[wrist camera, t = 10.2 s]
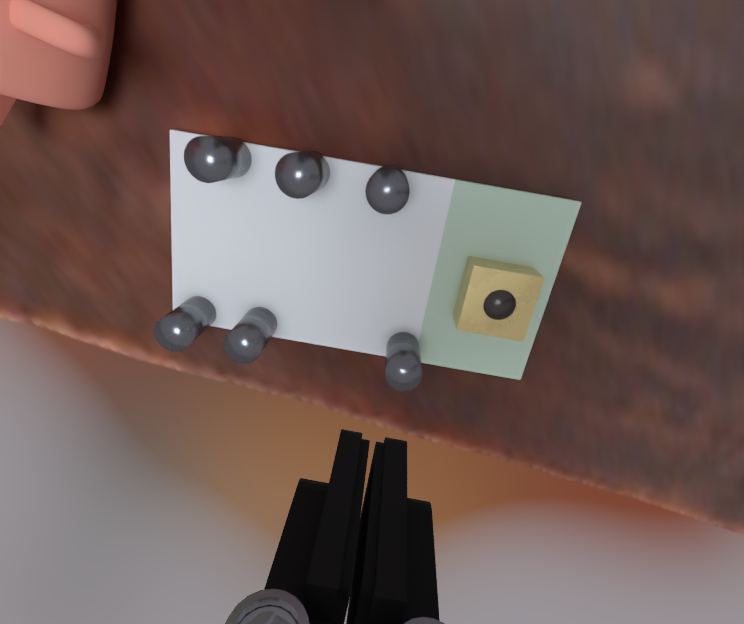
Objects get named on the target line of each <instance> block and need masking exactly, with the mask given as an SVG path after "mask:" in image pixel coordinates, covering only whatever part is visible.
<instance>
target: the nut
mask: <svg viewBox="0 0 744 624" xmlns="http://www.w3.org/2000/svg"><path fill="white" fill-rule="evenodd" d="M544 279H545V278H544V277H543V276H542V275H541V274H540V273H539V272H538V271H537V270H536V269H535V268H534V267H529V266H523V265H517V264H512V263H506V262H501V261H495V260H490V259H484V258H478V257H473V256H468V258H467V262H466V266H465V270H464V274H463V277H462V281H461V285H460V289H459V293H458V297H457V301H456V304H455V308H454V312H453V319H454V323H455V326H456V329H457V330H460V331H465V332H471V333H476V334H482V335H488V336H493V337H499V338H504V339H510V340H516V341H521V342H523V341H524V338H525V336H526V333H527V330H528V327H529V324H530V321H531V318H532V315H533V312H534V309H535V306H536V303H537V300H538V297H539V294H540V291H541V288H542V285H543V282H544Z"/></svg>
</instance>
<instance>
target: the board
mask: <svg viewBox="0 0 744 624" xmlns="http://www.w3.org/2000/svg"><path fill="white" fill-rule="evenodd" d="M198 136H209V135H203V134H197V133H192V132H186V131H180V130H170V174H171V231H172V287H173V310H174V309H175V308H177V307H178V306H179V305H181V304H182V303H184V302H185V301H186V300H188V299H189V298H191V297H194V296H201V297H204V298H206V299H208V300H209V301H210V302H211V303H212V304H213V305H214V307H215V310H216V319H215V321H214V322H213V323H212V324H211V325H210V326H214V327H219V328H225V329H231V330H232V329H233V328H234V327H235V325H236V324H237V323H238V322H239V321H240V320H241V319H242V318H243V317H244V315H245V314H246V313H247V312H248V311H249V310H250V309H252V308H255V307H263V308H266V309H268V310H270V311H271V312H272V313H273V314H274V315H275V317H276V319H277V329H276V331H275V332H274V334H273V335H272V337H277V338H283V339H288V340H294V341H300V342H305V343H311V344H317V345H323V346H328V347H334V348H340V349H346V350H351V351H357V352H363V353H369V354H374V355H380V356H386V348H387V342H388V340H389V339H390V337H391V336H393V335H394V334H396V333H399V332H407V333H410V334H412V335H414V336H415V337H416V338H417V340H418V342H419V345H420V355H421V363H426V364H432V365H437V366H443V367H449V368H455V369H460V370H466V371H472V372H478V373H483V374H489V375H495V376H501V377H506V378H512V379H518V380H521V377H522V374H523V371H524V368H525V365H526V363H527V360H528V357H529V354H530V351H531V348H532V345H533V342H534V339H535V336H536V333H537V331H538V328H539V325H540V322H541V319H542V316H543V313H544V310H545V307H546V304H547V302H548V299H549V296H550V293H551V290H552V287H553V284H554V281H555V278H556V275H557V272H558V270H559V267H560V264H561V261H562V258H563V255H564V252H565V249H566V246H567V243H568V241H569V238H570V235H571V232H572V229H573V226H574V223H575V220H576V217H577V214H578V211H579V209H580V206H581V203H582V202H580V201H577V200H572V199H566V198H561V197H555V196H549V195H544V194H538V193H532V192H527V191H521V190H515V189H509V188H504V187H498V186H492V185H487V184H481V183H475V182H470V181H464V180H458V179H453V178H447V177H441V176H436V175H430V174H424V173H419V172H413V171H407V170H402V169H401V170H402V171H403V172H404V173H405V175H406V176H407V179H408V184H409V189H410V194H409V199H408V201H407V203H406V205H405V206H404V207H403V208H402V209H401V210H400V211H398V212H396V213H393V214H381V213H379V212H377V211H375V210H374V209H373V208H372V207H371V206H370V205H369V203H368V201H367V199H366V193H365V190H366V185H367V182H368V180H369V178H370V177H371V176H372V175H373V174H374V172H375V171H376V170H377V169H379V168H380V167H382V166H379V165H373V164H368V163H362V162H356V161H351V160H345V159H339V158H334V157H328V156H323V157H324V158H325V159H326V161H327V162H328V165H329V168H330V176H329V180H328V182H327V183H326V185H325V186H324V187H323V188H321V189H320V190H318V191H316V192H314V193H313V194H311V195H309V196H307V197H305V198H301V199H295V198H291V197H289V196H287V195H285V194H284V193H283V192H282V191H281V190H280V189H279V187H278V185H277V183H276V180H275V168H276V165H277V163H278V161H279V160H280V159H281V158H282V157H283V156H284V155H286V154H288V153H292V152H300V151H294V150H288V149H283V148H277V147H271V146H266V145H260V144H254V143H249V142H244V143H245V144H246V145H247V147H248V149H249V150H250V153H251V159H252V161H251V166H250V169H249V170H248V172H247V173H246V174H245V175H243V176H241V177H237V178H232V179H228V180H223V181H218V182H213V183H204V182H201V181H199V180H197V179H196V178H194V177H193V176H192V175H191V174H190V173H189V171H188V169H187V168H186V165H185V162H184V150H185V147H186V145H187V144H188V142H189V141H190V140H191V139H193V138H195V137H198ZM468 256H473V257H478V258H484V259H490V260H495V261H501V262H506V263H512V264H517V265H523V266H529V267H534V268H535V269H536V270H537V271H538V272H539V273H540V274H541V275H542V276H543V277H544V278H545V279H544V282H543V285H542V288H541V291H540V294H539V297H538V300H537V303H536V306H535V309H534V312H533V315H532V318H531V321H530V324H529V327H528V330H527V333H526V336H525V338H524V341H523V342H521V341H516V340H510V339H504V338H499V337H493V336H488V335H482V334H476V333H471V332H465V331H460V330H457V329H456V326H455V323H454V319H453V312H454V308H455V304H456V301H457V297H458V293H459V289H460V285H461V281H462V277H463V274H464V270H465V266H466V262H467V258H468Z"/></svg>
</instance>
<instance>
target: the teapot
mask: <svg viewBox="0 0 744 624" xmlns="http://www.w3.org/2000/svg"><path fill="white" fill-rule="evenodd" d="M116 8H117V0H0V128H1V126H2V124H3V122H4V120H5V119H6V117H7V115H8V113H9V111H10V110H11V108H12V106H13V104H14V103H15V101H16V99H20V100H24V101H28V102H32V103H36V104H41V105H46V106H51V107H56V108H61V109H69V110H83V109H86V108H89V107H91V106H93V105H95V104H96V103H97V102H99V101H100V100H101V97H102V95H103V92H104V88H105V84H106V79H107V74H108V68H109V63H110V57H111V51H112V44H113V36H114V28H115V18H116Z"/></svg>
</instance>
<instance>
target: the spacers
mask: <svg viewBox="0 0 744 624" xmlns="http://www.w3.org/2000/svg"><path fill="white" fill-rule="evenodd" d="M251 161H252V159H251V153H250V150H249V149H248V147H247V145H246V144H245V143H244V142H243V141H241V140H240V139H237V138H234V137H217V136H198V137H195V138H193V139H191V140H190V141H189V142H188V144H187V145H186V147H185V150H184V162H185V165H186V168H187V169H188V171H189V173H190V174H191V175H192V176H193V177H194V178H196V179H197V180H199V181H201V182H204V183H213V182H218V181H223V180H228V179H232V178H237V177H241V176H243V175H245V174H246V173H247V172H248V170H249V169H250V166H251ZM329 176H330V168H329V165H328V162H327V161H326V159H325V158H324V157H323V156H322V155H321V154H319V153H317V152H314V151H304V152H292V153H288V154H286V155H284V156H283V157H282V158H281V159H280V160H279V161H278V163H277V165H276V168H275V180H276V183H277V185H278V187H279V189H280V190H281V191H282V192H283V193H284V194H285V195H287V196H289V197H291V198H295V199H301V198H305V197H307V196H309V195H311V194H313V193H314V192H316V191H318V190H320V189H321V188H323V187H324V186H325V185H326V183H327V182H328V180H329ZM365 193H366V199H367V201H368V203H369V205H370V206H371V207H372V208H373V209H374V210H375V211H377V212H379V213H381V214H393V213H396V212H398V211H400V210H401V209H402V208H403V207H404V206H405V205H406V203H407V201H408V199H409V194H410V189H409V184H408V179H407V176H406V175H405V173H404V172H403V171H402V170H401V169H400V168H398V167H396V166H393V165H386V166H382V167H380V168H379V169H377V170H376V171H375V172H374V174H373V175H372V176H371V177H370V178H369V180H368V182H367V185H366V190H365ZM215 319H216V310H215V307H214V305H213V304H212V303H211V302H210V301H209V300H208V299H206V298H204V297H201V296H194V297H191V298H189V299H188V300H186V301H185V302H184V303H182V304H181V305H179V306H178V307H177V308H175V309H174V310H173V311H171V312H170V313H169V314H167V315H166V316H165V317H163V318H162V319H160V320H159V321H158V322H157V323H156V325H155V327H154V335H155V338H156V340H157V341H158V343H159V344H160V345H161V346H162V347H164V348H165V349H167V350H170V351H174V352H178V351H182V350H185V349H186V348H187V347H188V346H189V345H190V344H191V343H192V342H193V341H195V340H196V339H197V338H198V337H199V336H200V335H201V334H202V333H203V332H204V331H205V330H206V329H207V328H208V327H209V326H210V325H211V324H212V323H213V322H214V321H215ZM276 329H277V319H276V317H275V315H274V314H273V313H272V312H271V311H270V310H268V309H266V308H263V307H255V308H252V309H250V310H249V311H248V312H247V313H246V314H245V315H244V317H243V318H242V319H241V320H240V321H239V322H238V323H237V324H236V325H235V327H234V328H233V329H232V330H231V331H230V332H229V333H228V334H227V335H226V337H225V339H224V343H223V345H224V350H225V352H226V354H227V355H228V356H229V357H230V358H231V359H232V360H234V361H236V362H238V363H251V362H253V361H255V360H256V359H257V358H258V356H259V355H260V353H261V352H262V350H263V349H264V347H265V346H266V344H267V343H268V341H269V340H270V338H271V337H272V335H273V334H274V332H275V331H276ZM385 379H386V381H387V383H388V384H389V385H390V386H391V387H392V388H393V389H396V390H399V391H409V390H412V389H414V388H416V387H417V386H418V385H419V384H420V382H421V380H422V365H421V355H420V345H419V342H418V340H417V338H416V337H415V336H414V335H412V334H410V333H407V332H399V333H396V334H394V335H393V336H391V337H390V339H389V340H388V342H387V348H386V364H385Z"/></svg>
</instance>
